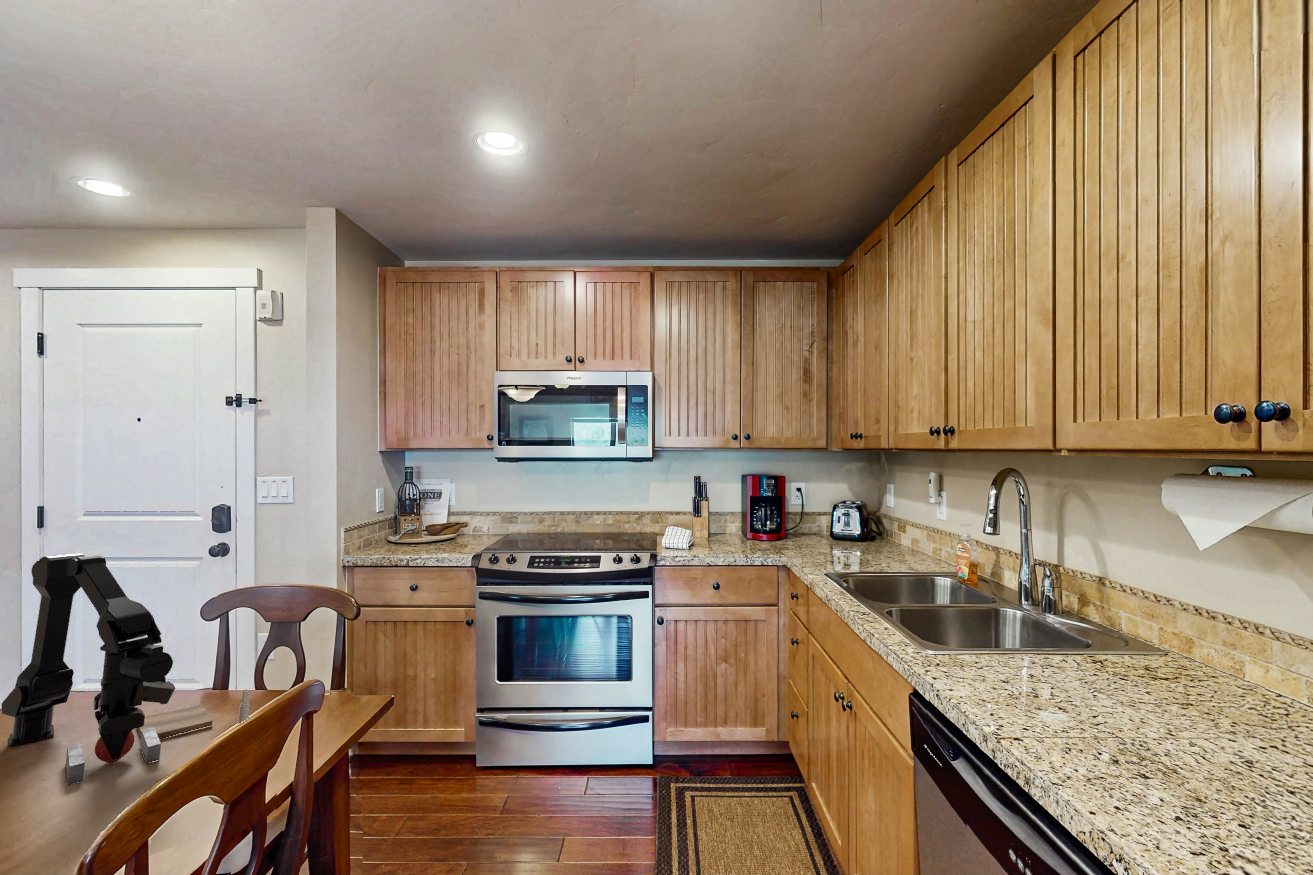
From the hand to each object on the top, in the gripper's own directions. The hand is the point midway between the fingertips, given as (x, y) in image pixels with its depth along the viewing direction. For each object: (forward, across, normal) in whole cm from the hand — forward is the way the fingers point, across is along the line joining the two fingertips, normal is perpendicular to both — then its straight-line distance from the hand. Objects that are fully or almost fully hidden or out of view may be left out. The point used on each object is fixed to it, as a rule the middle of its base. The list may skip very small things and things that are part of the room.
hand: (113, 752), depth 113 cm
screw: (+2, -11, -19) cm, 22 cm away
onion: (+2, 0, 0) cm, 2 cm away
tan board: (+2, +12, -11) cm, 16 cm away
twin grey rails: (+2, 0, 0) cm, 2 cm away
